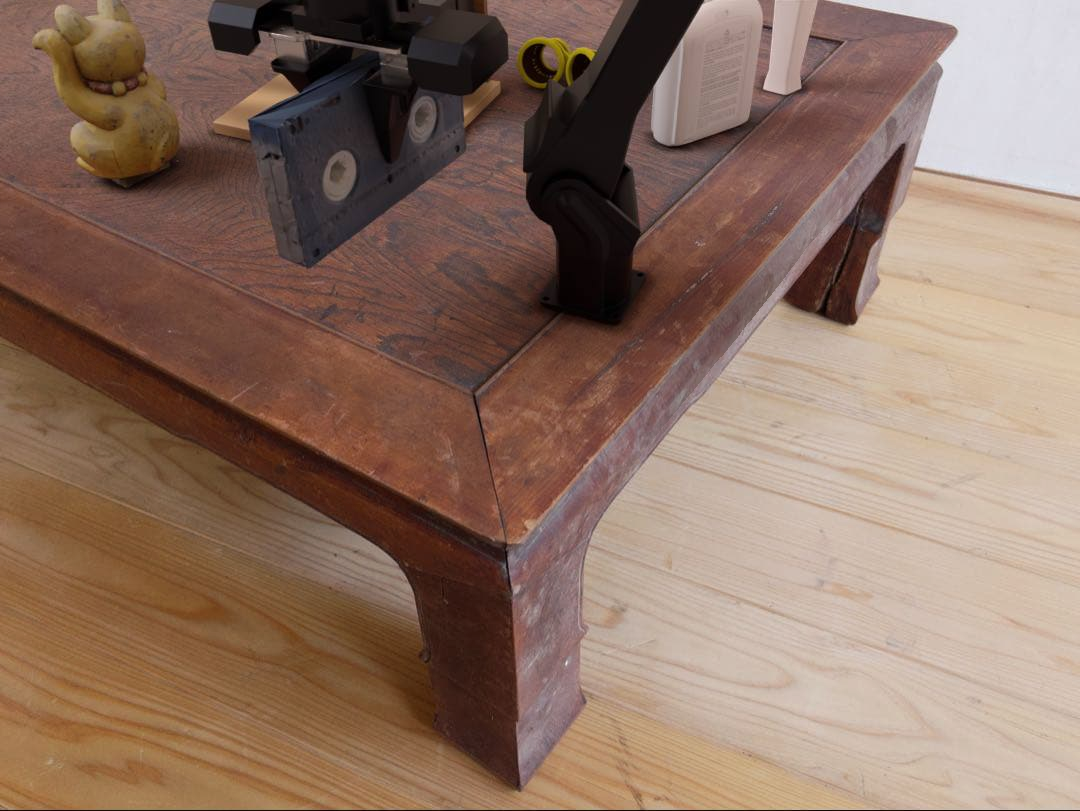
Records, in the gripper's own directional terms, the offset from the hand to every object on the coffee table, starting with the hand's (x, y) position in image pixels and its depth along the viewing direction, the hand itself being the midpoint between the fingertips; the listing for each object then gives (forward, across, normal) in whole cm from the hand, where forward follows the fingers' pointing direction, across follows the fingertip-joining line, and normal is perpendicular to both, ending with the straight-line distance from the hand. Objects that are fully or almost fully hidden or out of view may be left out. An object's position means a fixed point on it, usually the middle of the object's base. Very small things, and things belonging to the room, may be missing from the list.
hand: (373, 156), depth 67 cm
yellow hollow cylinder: (+12, +1, -38) cm, 40 cm away
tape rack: (+12, +18, -25) cm, 33 cm away
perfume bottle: (+12, -19, -46) cm, 51 cm away
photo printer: (+12, -14, -34) cm, 39 cm away
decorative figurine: (+12, +31, -8) cm, 34 cm away
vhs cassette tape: (+4, 0, 0) cm, 4 cm away
